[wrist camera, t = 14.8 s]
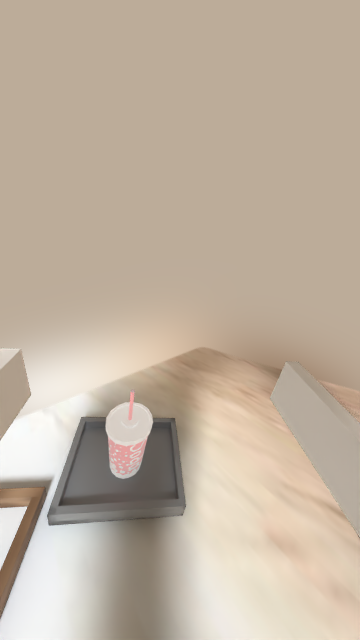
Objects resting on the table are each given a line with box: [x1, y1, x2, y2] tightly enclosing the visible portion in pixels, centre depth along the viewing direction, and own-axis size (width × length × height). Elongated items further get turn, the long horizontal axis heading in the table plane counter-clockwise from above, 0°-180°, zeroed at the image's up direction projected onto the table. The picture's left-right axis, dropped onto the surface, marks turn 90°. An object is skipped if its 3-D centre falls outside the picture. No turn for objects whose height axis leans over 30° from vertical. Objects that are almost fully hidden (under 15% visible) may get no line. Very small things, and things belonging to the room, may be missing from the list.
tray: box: [47, 417, 186, 525], centre depth 31 cm, size 16×13×2 cm
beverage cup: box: [106, 390, 153, 479], centre depth 28 cm, size 6×6×14 cm
